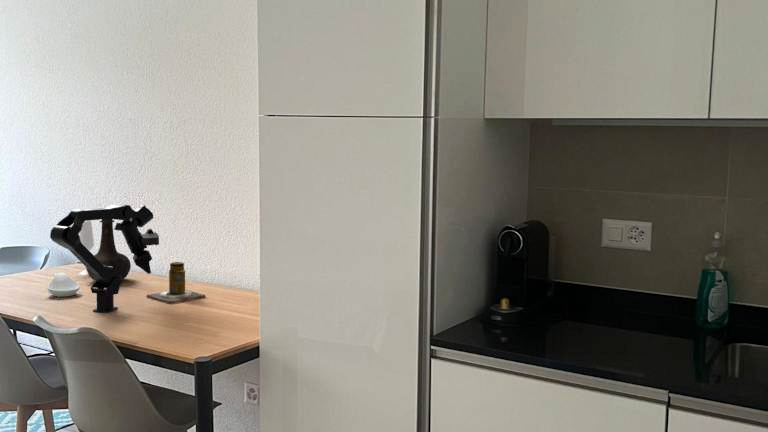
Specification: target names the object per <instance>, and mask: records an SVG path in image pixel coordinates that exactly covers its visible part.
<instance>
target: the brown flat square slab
mask: <svg viewBox="0 0 768 432" xmlns="http://www.w3.org/2000/svg"><path fill="white" fill-rule="evenodd" d="M168 291H169V290H166V291H161V292H156V293H150V294H146V298H147V299H151V300H154V301H157V302H161V303H165V304H168V305H172V304H177V303H178V304H179V303H182V302H188V301H194V300H199V299H203V298H206V294H202V293H199V292H196V291H192V290H189V289H188V290H187V289H185V291H187V293H186V294H185V296H166V294H167V293H168Z"/></svg>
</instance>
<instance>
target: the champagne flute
mask: <svg viewBox="0 0 768 432" xmlns="http://www.w3.org/2000/svg"><path fill="white" fill-rule="evenodd" d="M79 236H80V241H81V243H82V244H83V245H84V246H85V247H86V248H87V249H88V250H89V251H90V252H91V251H92V249H93V248H94V246H95V239H94V232H93V224H92V220H89V221H85V222H84V223H83V226H82V229H81V231H80V233H79ZM84 267H85V269H84V270H83V271H81V272H80V273H79V275H80V274H81V275H80V276H89V274H88V272H87V267H86V266H85V265H84Z"/></svg>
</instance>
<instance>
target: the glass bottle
mask: <svg viewBox="0 0 768 432" xmlns="http://www.w3.org/2000/svg"><path fill="white" fill-rule="evenodd" d="M99 223H101V233H100V234H101V235H100V244H99V248H98V251H97V253H96V254H93V255H94V256H95V257H96V258H97V259H98V260H99V261H100V262H101V263H102V264H103V265H104V266H111V267H114V268H115V269H116V271H117V272H118V273H120V274H119V275H120V276H121V278H122V279H121V281H123V280H124V279H126V277H127V276H128V275H129V273H130V271H131V267H132V265H131V264H132V263H131V261H130V259H129V258H128V256H127V255H125V254H123V253H121V252H118V250H117V248H116V245H115V244H116V243H115V236H114V235H115V234H114V225H113V223H115V219H101V220H99ZM87 272H88V274H89V275H88V276H89V277H90V278H91V279H92V280H93V281H94V282H95V280H94V276H93V273H92V272H91V271H90V270H89V269H88V268H87Z"/></svg>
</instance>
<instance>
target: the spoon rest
mask: <svg viewBox="0 0 768 432" xmlns="http://www.w3.org/2000/svg"><path fill="white" fill-rule="evenodd" d="M80 288H81V286H80V284H79V283H78V282H77V281H76V280H74V279H73V278H71V277H70V276H69V275H68V274H66V273H65V272H61V273H56V272H55V273H54V275H53V278H52V279H51V281H50V282H49V283H48V285H47V292H49V294H51V295H52V296H53V297H56V296H57V297H56V298H68V297H71V296H73V295H75V294H77V292H79V290H80ZM67 296H68V297H67Z"/></svg>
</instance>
